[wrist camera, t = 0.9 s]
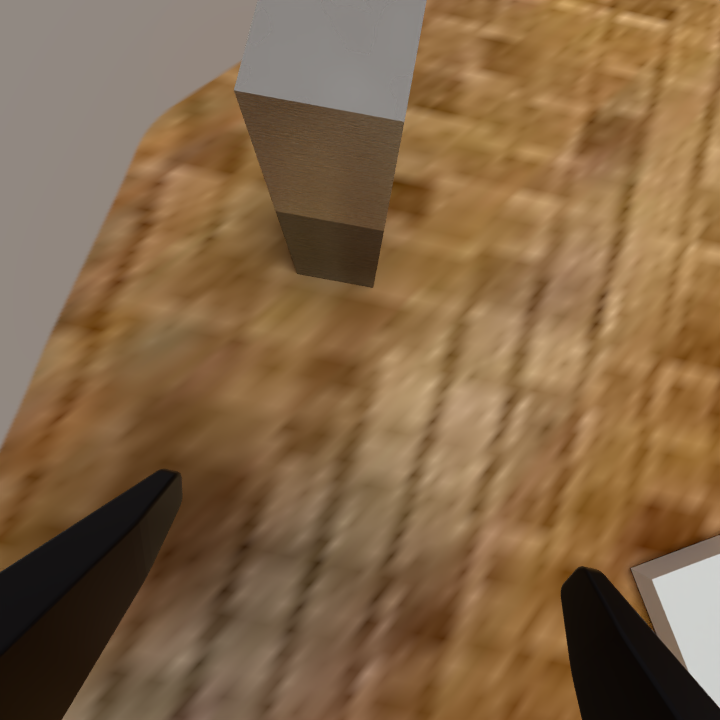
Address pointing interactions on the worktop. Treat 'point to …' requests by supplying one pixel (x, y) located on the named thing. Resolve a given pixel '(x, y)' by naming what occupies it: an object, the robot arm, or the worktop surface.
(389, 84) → the silver metal block
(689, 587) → the plate
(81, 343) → the worktop surface
